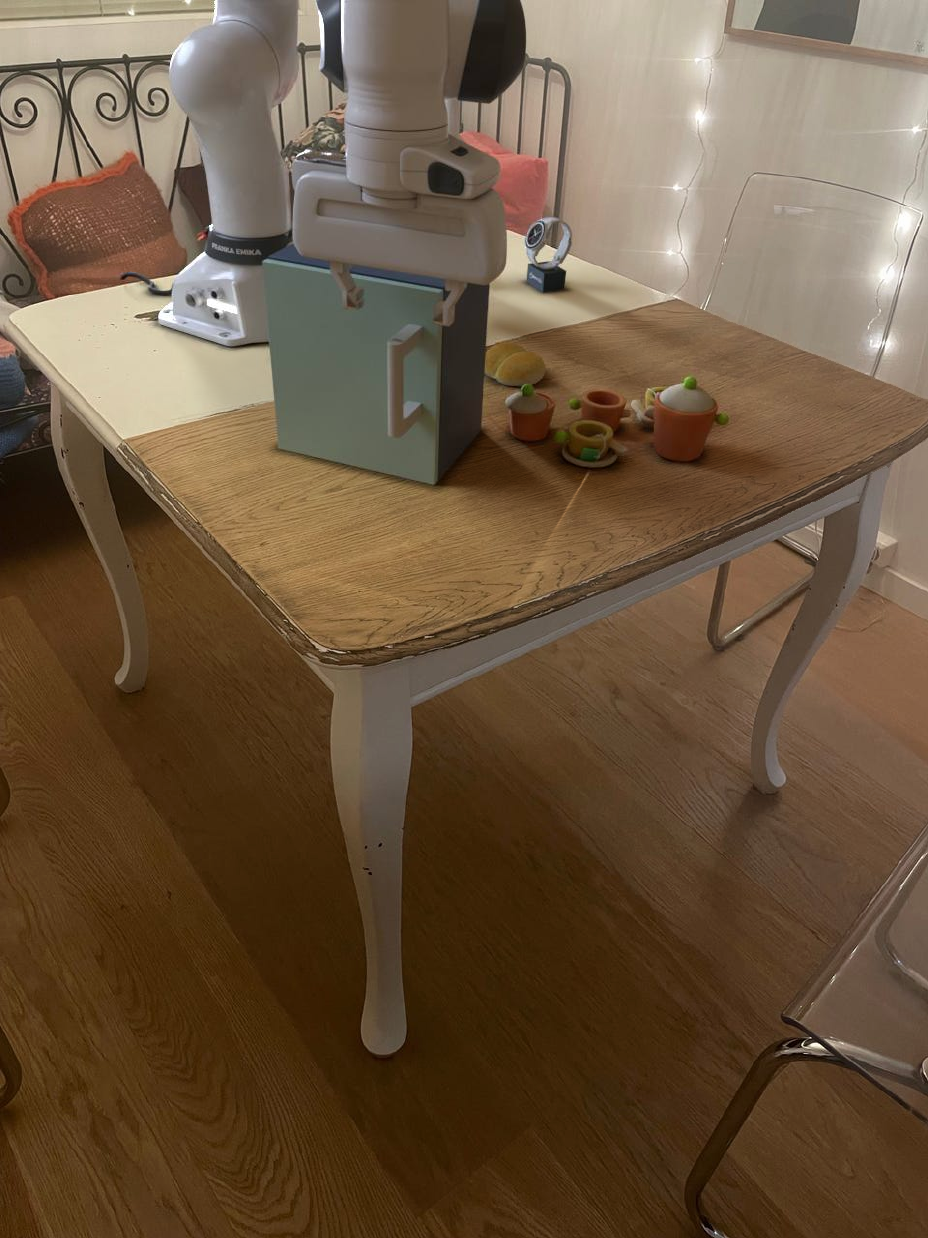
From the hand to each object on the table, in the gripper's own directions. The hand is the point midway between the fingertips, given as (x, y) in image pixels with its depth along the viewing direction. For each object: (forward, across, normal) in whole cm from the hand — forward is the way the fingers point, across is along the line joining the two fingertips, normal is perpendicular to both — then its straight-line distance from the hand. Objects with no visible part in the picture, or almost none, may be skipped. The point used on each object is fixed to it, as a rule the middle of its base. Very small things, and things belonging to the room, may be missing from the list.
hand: (398, 315), depth 90 cm
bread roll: (+21, 0, +38) cm, 44 cm away
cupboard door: (+21, -8, +3) cm, 22 cm away
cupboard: (+21, -8, +13) cm, 26 cm away
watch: (+21, -6, +76) cm, 79 cm away
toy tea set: (+21, +18, +24) cm, 37 cm away
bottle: (+21, -22, +69) cm, 76 cm away
